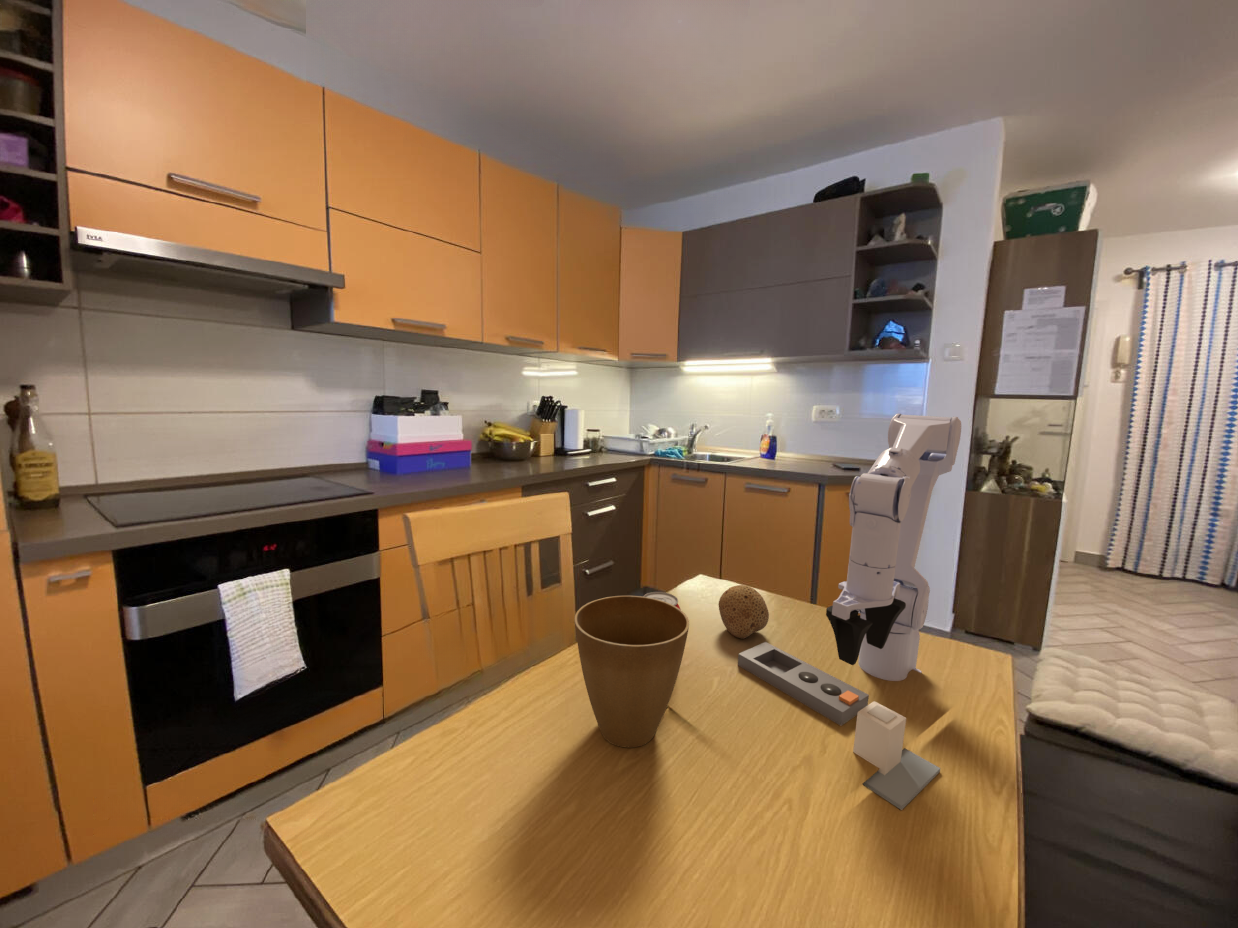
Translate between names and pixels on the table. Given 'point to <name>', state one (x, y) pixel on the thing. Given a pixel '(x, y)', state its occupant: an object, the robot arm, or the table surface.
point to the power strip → (804, 682)
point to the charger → (879, 736)
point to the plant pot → (630, 663)
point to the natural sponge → (743, 611)
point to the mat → (903, 779)
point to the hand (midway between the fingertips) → (861, 653)
